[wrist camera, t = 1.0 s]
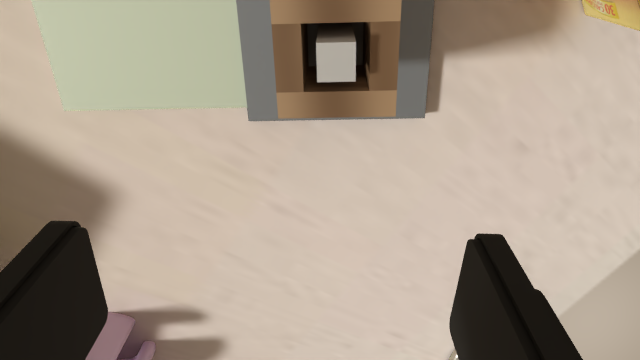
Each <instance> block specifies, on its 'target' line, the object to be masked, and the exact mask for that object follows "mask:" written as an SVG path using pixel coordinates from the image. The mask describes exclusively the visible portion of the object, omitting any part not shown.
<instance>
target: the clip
mask: <svg viewBox="0 0 640 360" xmlns="http://www.w3.org/2000/svg"><path fill="white" fill-rule="evenodd" d="M134 324H135V319H134V318H132V317H129V316H127V315H124V314H119V313H112V312H108V317H107V321H106V324H105V326H104V327H103V329H102V331H101V333H100V334H99V336H98V338H97V340H96V341H95V343H94V345H93V347H92V349H91V350H90V352H89V354H88V356H87V357H86V359H85V360H152V358H153V355H154V353H155V349H156V344H155V343H154V342H153V341H144V342H143V344H142V346H141V348H140V350H139V352H138V355H137V356H135V357H133V358H130V359H117V357H118V355H119V353H120V351H121V349H122V347H123V345H124V343H125V341H126V340H127V338H128V336H129V334H130V332H131V330H132V328H133V326H134Z"/></svg>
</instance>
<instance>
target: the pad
mask: <svg viewBox="0 0 640 360" xmlns="http://www.w3.org/2000/svg"><path fill="white" fill-rule="evenodd" d="M31 1H32V4H33V8H34V11H35V15H36V18H37V21H38V25H39V28H40V31H41V35H42V38H43V41H44V45H45V48H46V52H47V55H48V58H49V62H50V65H51V68H52V72H53V75H54V79H55V82H56V85H57V89H58V92H59V95H60V99H61V102H62V105H63V109H64V111H88V110H142V109H196V108H247V100H246V91H245V81H244V72H243V62H242V52H241V43H240V33H239V24H238V14H237V4H236V0H31Z"/></svg>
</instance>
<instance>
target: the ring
mask: <svg viewBox="0 0 640 360" xmlns="http://www.w3.org/2000/svg"><path fill="white" fill-rule="evenodd" d="M401 2H402V0H270V12H271V25H272V39H273V53H274V67H275V80H276V94H277V108H278V119H284V118H341V117H396V99H397V80H398V60H399V41H400V21H401ZM344 22H364V25H363V65H356V82H317V66H309V61H308V35H307V23H344Z"/></svg>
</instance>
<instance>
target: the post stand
mask: <svg viewBox="0 0 640 360" xmlns="http://www.w3.org/2000/svg"><path fill="white" fill-rule="evenodd" d="M236 4H237V14H238V24H239V33H240V43H241V52H242V62H243V72H244V81H245V91H246V100H247V110H248V119H249V121H284V120H341V119H399V118H425V109H426V97H427V85H428V73H429V61H430V49H431V36H432V24H433V12H434V0H402V2H401V21H400V41H399V60H398V80H397V99H396V117H341V118H284V119H278V108H277V94H276V80H275V67H274V53H273V39H272V25H271V12H270V0H236ZM363 25H364V22H344V23H307V35H308V61H309V66H317V82H356V65H363Z"/></svg>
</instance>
